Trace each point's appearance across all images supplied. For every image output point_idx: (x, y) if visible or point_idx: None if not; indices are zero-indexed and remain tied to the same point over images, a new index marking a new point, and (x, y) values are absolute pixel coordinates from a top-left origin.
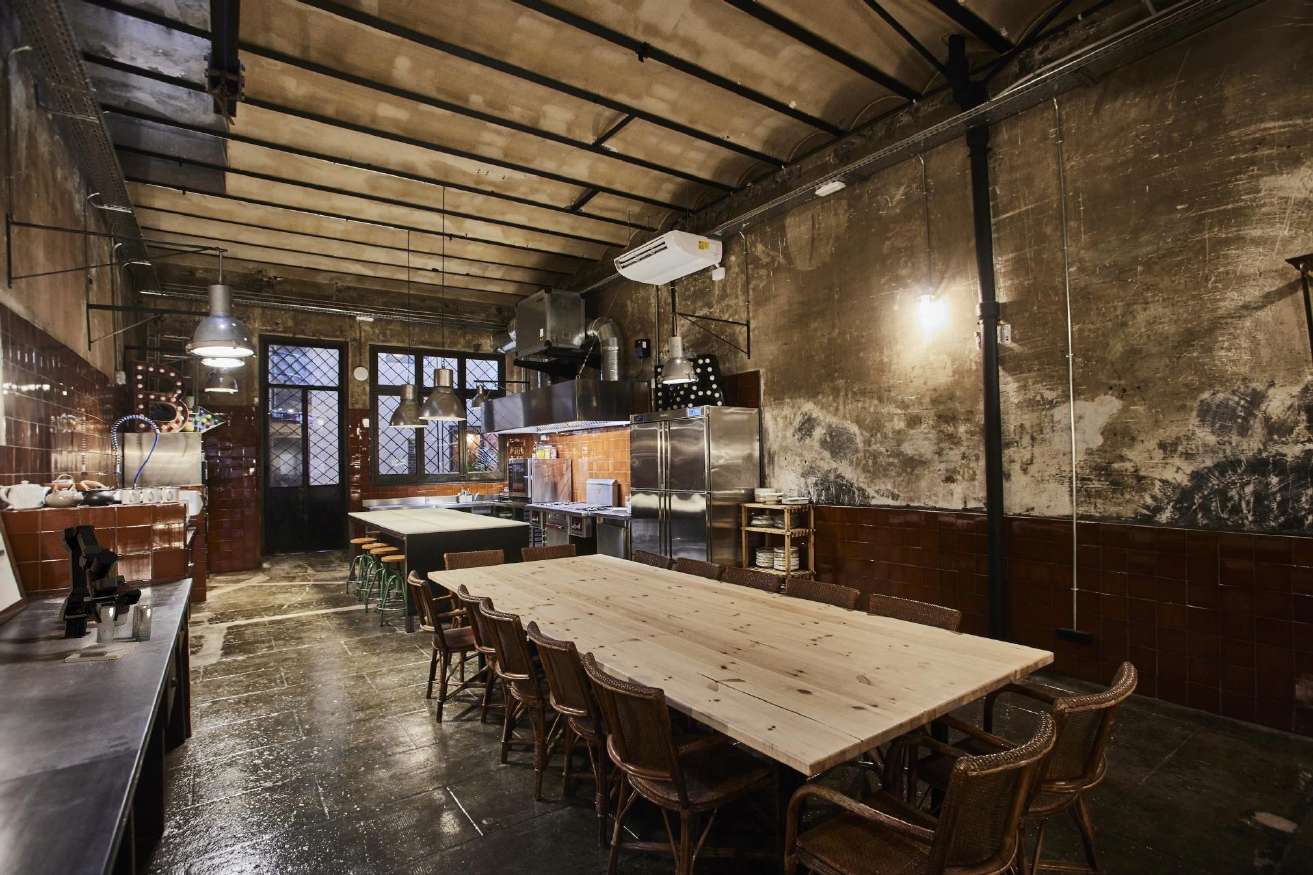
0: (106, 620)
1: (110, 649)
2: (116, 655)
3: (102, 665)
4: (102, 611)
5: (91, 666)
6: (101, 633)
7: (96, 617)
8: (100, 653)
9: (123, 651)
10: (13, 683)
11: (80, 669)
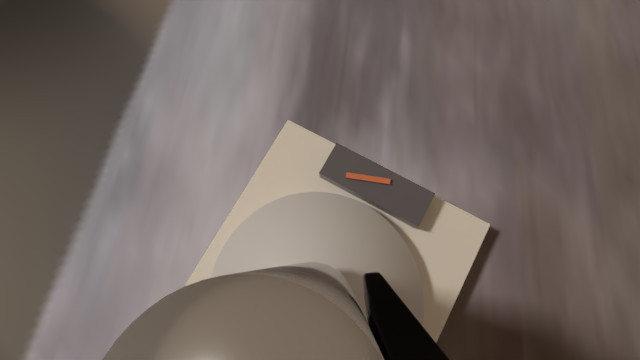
0: (299, 267)
1: (299, 206)
2: (290, 121)
3: (352, 61)
4: (349, 304)
5: (388, 73)
6: (337, 273)
7: (410, 314)
8: (350, 151)
9: (250, 182)
10: (637, 5)
11: (427, 53)
